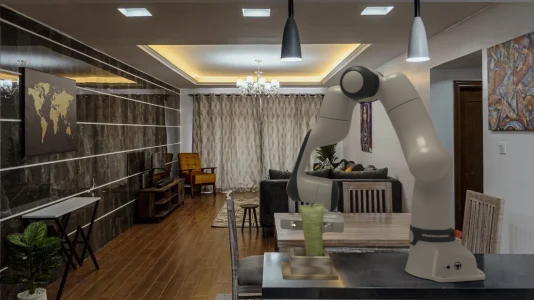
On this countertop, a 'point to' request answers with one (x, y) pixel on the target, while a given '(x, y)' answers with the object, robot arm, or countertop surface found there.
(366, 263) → the countertop surface
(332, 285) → the countertop surface
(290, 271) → the socket stand
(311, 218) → the tube
